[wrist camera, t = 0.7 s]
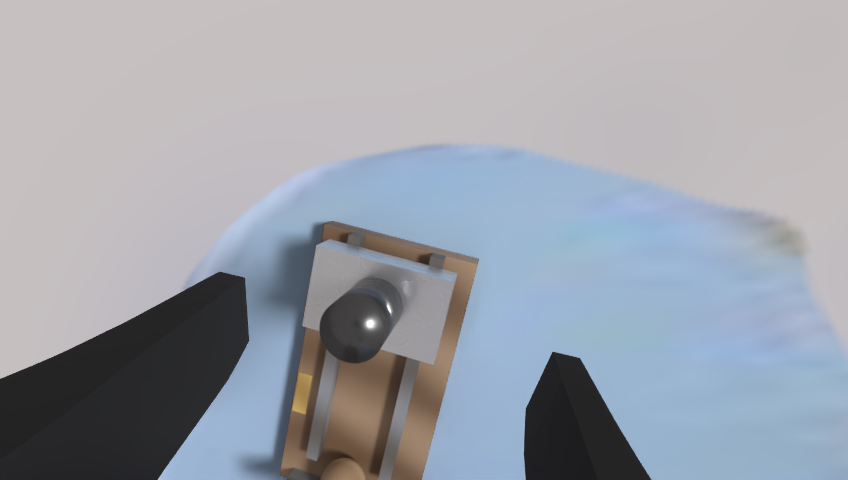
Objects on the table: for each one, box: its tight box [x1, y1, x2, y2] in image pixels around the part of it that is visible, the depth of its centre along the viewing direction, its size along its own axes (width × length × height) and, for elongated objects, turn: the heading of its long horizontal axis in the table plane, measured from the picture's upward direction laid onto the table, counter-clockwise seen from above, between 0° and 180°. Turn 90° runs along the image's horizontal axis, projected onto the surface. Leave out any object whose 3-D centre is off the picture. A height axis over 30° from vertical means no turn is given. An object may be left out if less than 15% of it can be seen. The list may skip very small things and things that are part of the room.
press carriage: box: [302, 239, 458, 365], centre depth 24 cm, size 5×8×6 cm, turn 77°
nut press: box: [280, 221, 479, 480], centre depth 28 cm, size 19×10×6 cm, turn 167°
